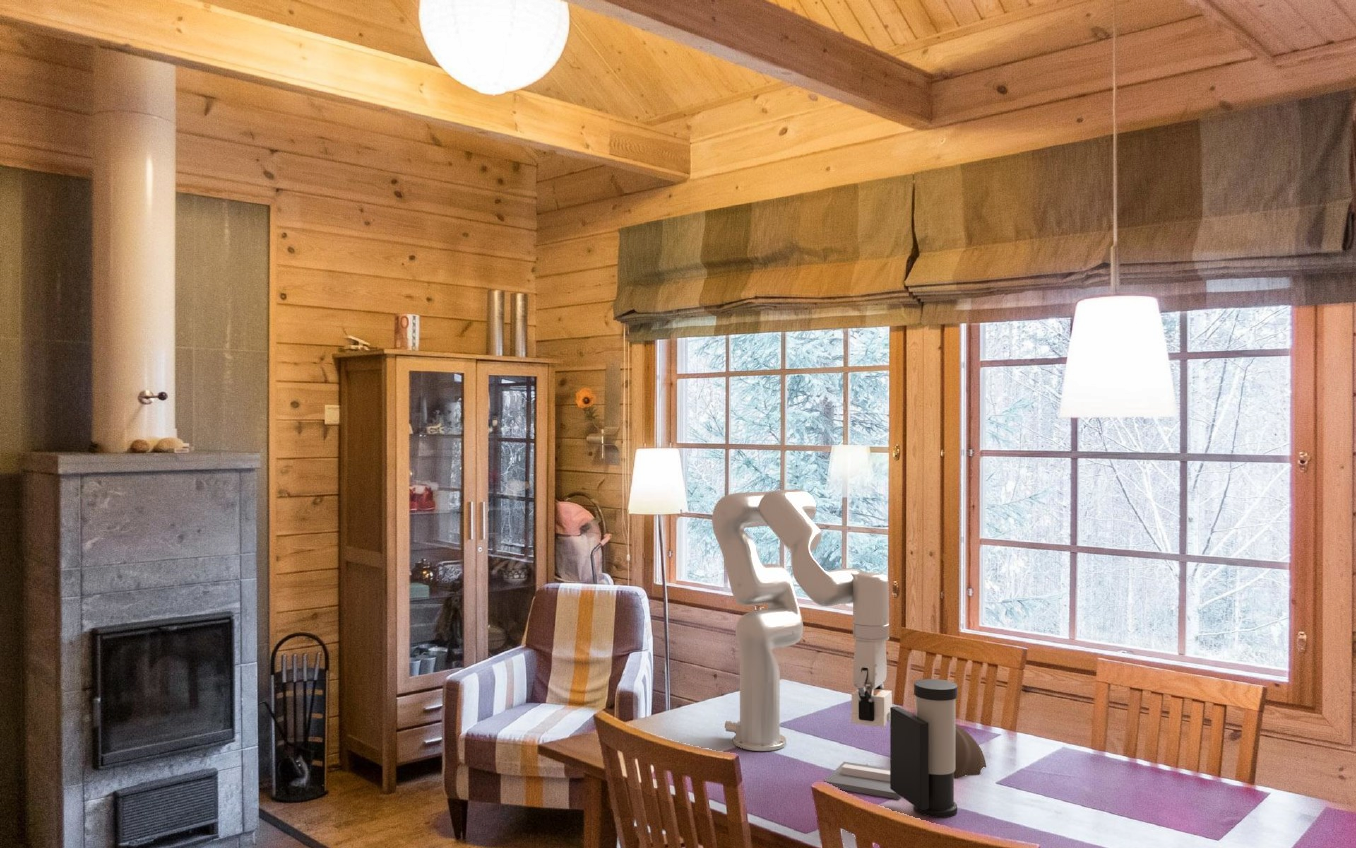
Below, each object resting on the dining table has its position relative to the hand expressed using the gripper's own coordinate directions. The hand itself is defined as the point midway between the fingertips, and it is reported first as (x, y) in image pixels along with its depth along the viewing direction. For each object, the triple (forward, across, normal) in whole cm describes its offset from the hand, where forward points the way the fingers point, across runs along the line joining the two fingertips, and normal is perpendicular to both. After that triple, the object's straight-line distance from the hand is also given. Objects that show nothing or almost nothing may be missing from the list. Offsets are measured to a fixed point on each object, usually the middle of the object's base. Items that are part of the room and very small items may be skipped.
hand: (871, 715), depth 214 cm
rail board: (+14, 0, 0) cm, 14 cm away
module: (+1, 0, 0) cm, 1 cm away
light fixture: (+15, +10, +14) cm, 23 cm away
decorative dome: (+15, -20, +10) cm, 27 cm away
